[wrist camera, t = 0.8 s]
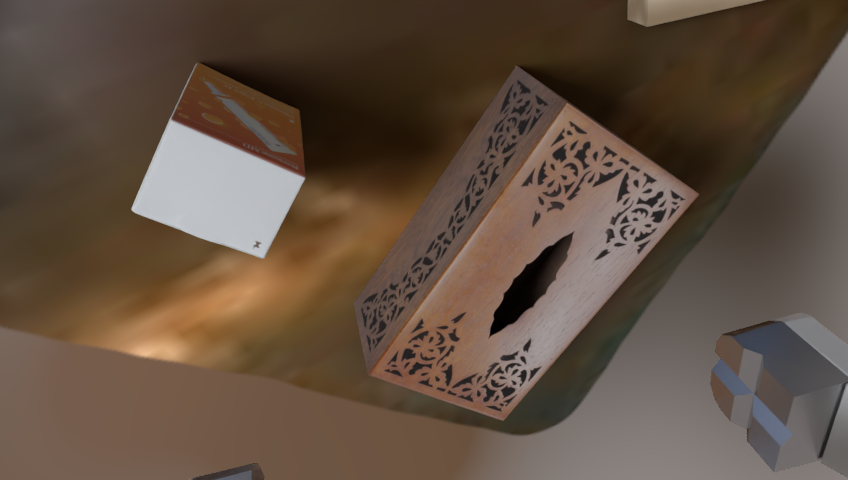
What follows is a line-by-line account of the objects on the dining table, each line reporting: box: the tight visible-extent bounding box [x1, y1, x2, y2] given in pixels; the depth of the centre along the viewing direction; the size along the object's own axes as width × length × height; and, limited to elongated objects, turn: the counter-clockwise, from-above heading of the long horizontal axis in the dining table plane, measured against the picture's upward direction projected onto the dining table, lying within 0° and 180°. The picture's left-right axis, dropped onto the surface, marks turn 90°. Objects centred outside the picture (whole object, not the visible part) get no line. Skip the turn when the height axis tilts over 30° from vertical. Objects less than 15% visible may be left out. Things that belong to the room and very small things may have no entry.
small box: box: [132, 63, 305, 258], centre depth 40 cm, size 8×6×13 cm
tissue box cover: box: [354, 66, 699, 421], centre depth 51 cm, size 26×14×10 cm, turn 146°
